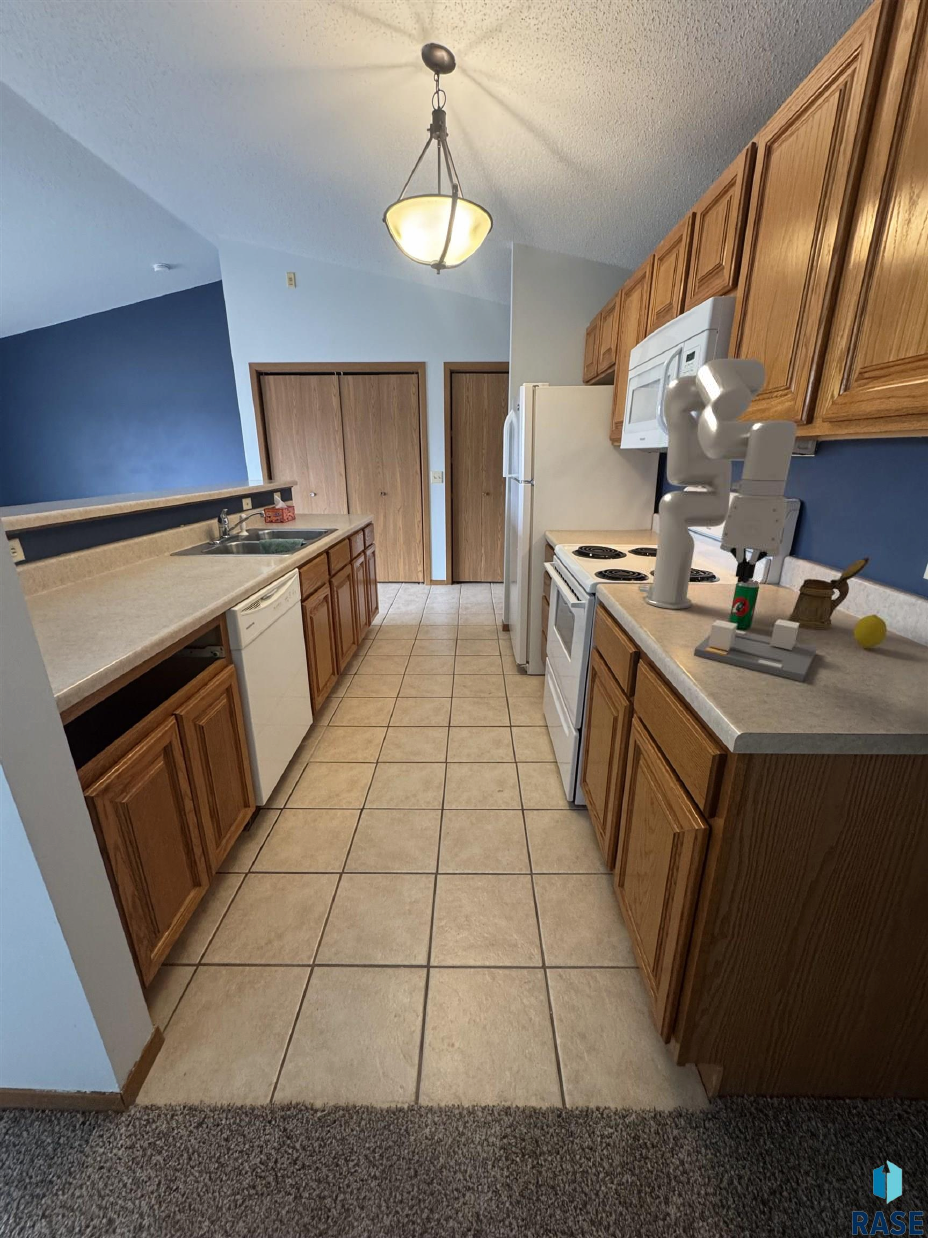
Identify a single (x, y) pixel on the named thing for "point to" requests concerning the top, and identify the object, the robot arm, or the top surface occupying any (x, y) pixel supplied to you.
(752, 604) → the soda can
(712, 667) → the top surface
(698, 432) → the robot arm
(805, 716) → the top surface
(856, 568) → the wooden mug
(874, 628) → the lemon
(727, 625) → the front slider
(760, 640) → the switch panel
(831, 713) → the top surface
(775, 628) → the back slider
